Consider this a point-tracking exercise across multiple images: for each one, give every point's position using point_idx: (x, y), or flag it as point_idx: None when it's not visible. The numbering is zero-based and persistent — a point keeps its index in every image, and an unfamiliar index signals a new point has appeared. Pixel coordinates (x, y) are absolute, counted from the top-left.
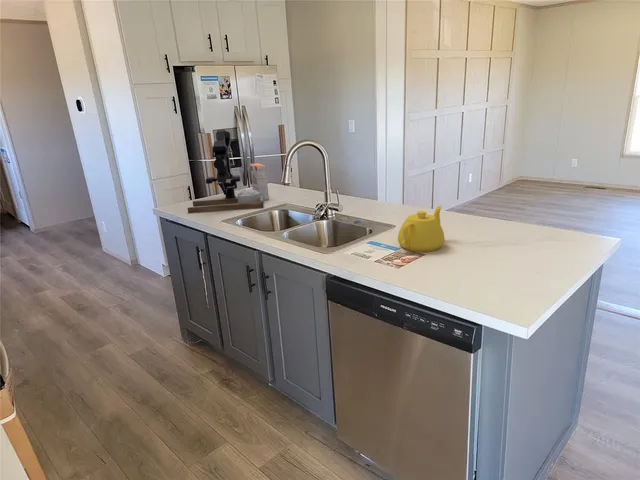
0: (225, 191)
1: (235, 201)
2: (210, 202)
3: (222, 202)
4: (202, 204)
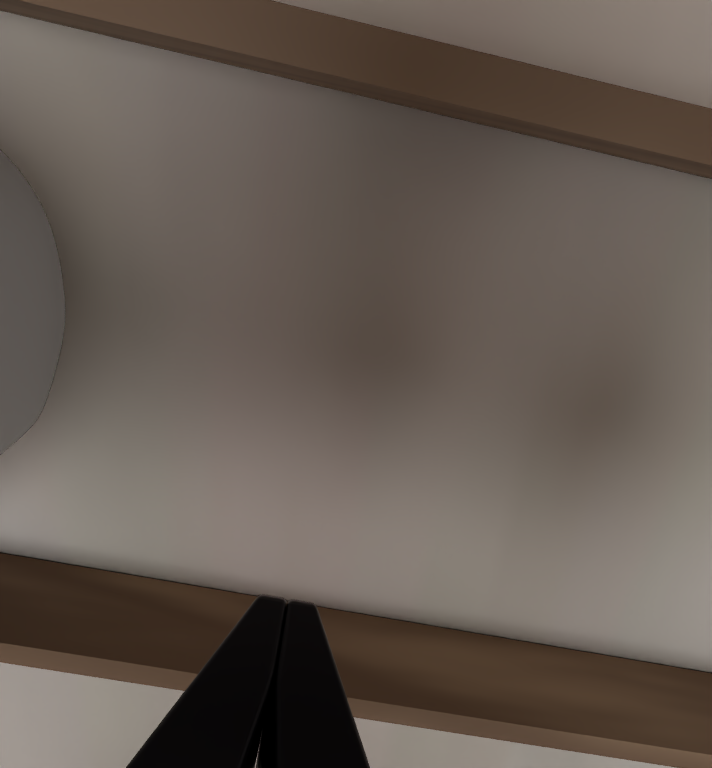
0: (222, 701)
1: (127, 608)
2: (582, 696)
3: (370, 647)
4: (706, 693)
